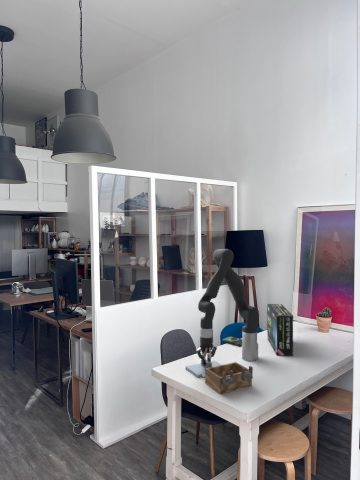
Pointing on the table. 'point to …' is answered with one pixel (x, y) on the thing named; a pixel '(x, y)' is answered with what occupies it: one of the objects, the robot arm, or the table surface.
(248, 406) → the table surface
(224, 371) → the brown wooden open box
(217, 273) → the robot arm
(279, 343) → the router box
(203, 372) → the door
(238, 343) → the disk drive
